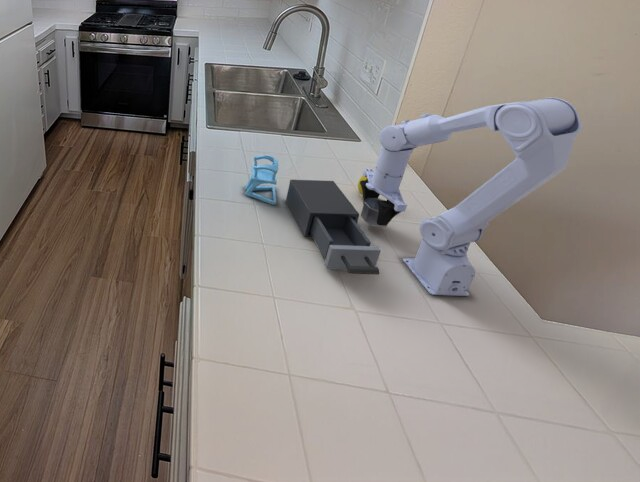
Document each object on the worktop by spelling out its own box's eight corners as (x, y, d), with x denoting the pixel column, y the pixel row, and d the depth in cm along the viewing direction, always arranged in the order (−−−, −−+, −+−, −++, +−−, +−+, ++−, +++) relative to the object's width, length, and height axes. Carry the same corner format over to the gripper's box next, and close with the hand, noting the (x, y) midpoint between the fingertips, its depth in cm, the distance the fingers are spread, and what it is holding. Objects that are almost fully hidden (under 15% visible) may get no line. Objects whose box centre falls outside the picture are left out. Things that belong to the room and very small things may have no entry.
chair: (245, 184, 115) (250, 149, 110) (274, 189, 113) (281, 153, 108) (244, 199, 108) (250, 163, 103) (276, 205, 106) (283, 168, 101)
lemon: (380, 205, 106) (388, 181, 103) (358, 202, 107) (365, 178, 104) (372, 193, 111) (380, 169, 108) (352, 190, 112) (358, 167, 109)
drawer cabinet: (352, 239, 94) (359, 214, 91) (304, 237, 95) (310, 212, 92) (327, 203, 107) (333, 180, 104) (285, 202, 107) (290, 179, 104)
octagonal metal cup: (392, 227, 95) (397, 212, 93) (368, 227, 95) (373, 212, 93) (379, 212, 100) (383, 197, 98) (356, 211, 100) (360, 197, 98)
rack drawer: (385, 286, 80) (393, 266, 78) (335, 285, 81) (341, 264, 78) (346, 230, 96) (351, 211, 93) (304, 229, 96) (308, 210, 94)
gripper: (356, 154, 99) (344, 197, 104) (390, 188, 85) (374, 235, 91) (384, 154, 98) (371, 198, 104) (422, 189, 85) (404, 236, 90)
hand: (374, 215), depth 97 cm, fingers closed on octagonal metal cup, 6 cm apart
